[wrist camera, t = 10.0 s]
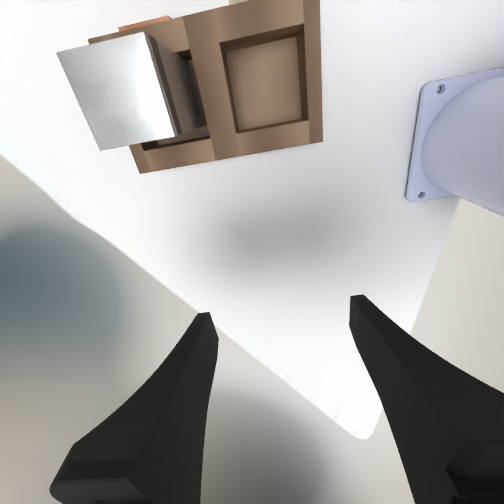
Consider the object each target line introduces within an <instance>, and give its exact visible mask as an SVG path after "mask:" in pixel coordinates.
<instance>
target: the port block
mask: <svg viewBox="0 0 504 504" xmlns="http://www.w3.org/2000/svg"><path fill="white" fill-rule="evenodd" d="M118 29H119V32H116V33H112V34H108V35H104V36H100V37H95V38H91V39H88V42H89V44H94V43H99V42H103V41H107V40H111V39H115V38H119V37H124V36H128V35H132V34H136V33H140V32H145V33H146V34H149V35H151V36H152V37H154V38H155V39H156V40H157V41H158V42H160V43H161V44H163V45H164V46H166V47H167V48H169V49H170V50H172V51H173V52H175V53H176V54H178V55H179V56H181V57H182V58H184V59H186V60H187V61H189V62H190V63H192V64H193V65H194V69H195V73H196V77H197V82H198V86H199V90H200V95H201V99H202V103H203V108H204V112H205V116H206V120H207V125H205V126H202V127H200V128H197V129H194V130H191V131H188V132H186V133H183V134H182V135H179V136H174V137H169V138H164V139H159V140H154V141H148V142H143V143H138V144H133V145H129V147H130V150H131V152H132V155H133V157H134V160H135V162H136V165H137V168H138V170H139V173H140V174H142V173H148V172H154V171H159V170H165V169H170V168H176V167H182V166H187V165H193V164H199V163H204V162H210V161H216V160H221V159H227V158H233V157H238V156H244V155H249V154H255V153H261V152H266V151H272V150H278V149H283V148H289V147H295V146H300V145H306V144H312V143H317V142H323V129H322V85H321V41H320V0H230V1H229V5H228V6H224V7H220V8H216V9H211V10H207V11H203V12H199V13H195V14H191V15H187V16H182V17H178V18H174V19H171V18H170V17H169V16H164V17H160V18H156V19H152V20H148V21H143V22H139V23H135V24H131V25H127V26H123V27H119V28H118Z"/></svg>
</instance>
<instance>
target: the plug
mask: <svg viewBox="0 0 504 504" xmlns="http://www.w3.org/2000/svg"><path fill="white" fill-rule="evenodd" d="M56 54H57V56H58V58H59V60H60V62H61V65H62V67H63V69H64V71H65V74H66V76H67V78H68V80H69V83H70V85H71V87H72V89H73V91H74V94H75V96H76V98H77V100H78V103H79V105H80V107H81V109H82V111H83V114H84V116H85V118H86V120H87V123H88V125H89V127H90V129H91V132H92V134H93V136H94V138H95V140H96V143H97V145H98V147H99V149H100V151H101V150H106V149H112V148H117V147H122V146H127V145H133V144H138V143H143V142H148V141H154V140H159V139H164V138H169V137H174V136H179V135H182V134H183V133H186V132H188V131H191V130H194V129H197V128H200V127H202V126H205V125H207V120H206V116H205V112H204V108H203V103H202V99H201V95H200V90H199V86H198V82H197V77H196V73H195V69H194V65H193V64H192V63H190V62H189V61H187V60H186V59H184V58H182V57H181V56H179V55H178V54H176V53H175V52H173V51H172V50H170V49H169V48H167V47H166V46H164V45H163V44H161V43H160V42H158V41H157V40H156V39H155V38H154V37H152V36H151V35H149V34H146V33H145V32H140V33H136V34H132V35H128V36H124V37H119V38H115V39H111V40H107V41H103V42H99V43H94V44H90V45H86V46H82V47H78V48H74V49H69V50H65V51H61V52H57V53H56Z"/></svg>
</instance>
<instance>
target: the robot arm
mask: <svg viewBox="0 0 504 504" xmlns="http://www.w3.org/2000/svg"><path fill="white" fill-rule="evenodd" d="M439 85H441V91H440V92H439V93H437V91H436V90H437V87H438V86H439ZM421 192H422V195H421V196H419V197H418V195H419V193H421ZM451 196H459V197H461V198H463V199H466V200H468V201H470V202H472V203H475V204H477V205H479V206H481V207H484V208H486V209H488V210H490V211H493V212H495V213H497V214H499V215H502V216H504V68H500V69H495V70H490V71H485V72H479V73H474V74H469V75H464V76H459V77H453V78H448V79H443V80H438V81H433V82H429V83H427V84H426V85H425V86H424V87H423V89H422V92H421V98H420V104H419V111H418V118H417V125H416V131H415V138H414V145H413V152H412V158H411V165H410V172H409V178H408V185H407V192H406V199H407V200H408V201H410V202H417V201H424V200H431V199H438V198H445V197H451ZM349 326H350V329H351V332H352V335H353V338H354V341H355V344H356V347H357V349H358V351H359V353H360V355H361V358H362V360H363V362H364V364H365V366H366V368H367V371H368V373H369V375H370V377H371V379H372V381H373V383H374V386H375V388H376V390H377V392H378V395H379V397H380V399H381V402H382V405H383V408H384V411H385V413H386V416H387V419H388V422H389V424H390V427H391V430H392V433H393V436H394V439H395V442H396V445H397V448H398V451H399V454H400V457H401V460H402V463H403V466H404V469H405V472H406V475H407V479H408V482H409V485H410V489H411V492H412V495H413V498H414V502H415V504H504V393H502V392H501V391H499V390H497V389H495V388H493V387H491V386H489V385H487V384H485V383H483V382H482V381H480V380H478V379H476V378H474V377H472V376H471V375H469V374H468V373H466V372H464V371H462V370H461V369H459V368H457V367H455V366H454V365H452V364H451V363H449V362H448V361H446V360H444V359H443V358H441V357H440V356H438V355H437V354H435V353H434V352H432V351H431V350H429V349H428V348H426V347H425V346H424V345H422V344H421V343H420V342H418V341H417V340H416V339H414V338H413V337H412V336H410V335H409V334H408V333H407V332H405V331H404V330H403V329H402V328H400V327H399V326H398V325H397V324H396V323H394V322H393V321H392V320H391V319H390V318H389V317H387V316H386V315H385V314H384V313H383V312H382V311H381V310H380V309H379V308H377V307H376V306H375V305H374V304H373V303H372V302H371V301H370V300H369V299H368V298H367V297H366V296H364V295H355V296H350V320H349ZM218 339H219V338H218V336H217V333H216V330H215V327H214V324H213V321H212V318H211V315H210V312H205V313H198V314H197V316H196V317H195V318H194V320H193V321H192V323H191V324H190V326H189V327H188V329H187V330H186V332H185V333H184V335H183V336H182V338H181V339H180V340H179V342H178V343H177V344H176V346H175V347H174V349H173V350H172V351H171V353H170V354H169V355H168V357H167V358H166V359H165V360H164V361H163V363H162V364H161V365H160V366H159V368H158V369H157V370H156V371H155V372H154V373H153V375H152V376H151V377H150V378H149V379H148V380H147V381H146V382H145V383H144V384H143V385H142V386H141V387H140V388H139V389H138V390H137V391H136V392H135V393H134V394H133V395H132V396H131V397H130V398H129V399H128V400H127V401H126V402H125V403H124V404H123V405H122V406H120V407H119V408H118V409H117V410H116V411H115V412H114V413H112V414H111V415H110V416H109V417H108V418H107V419H105V420H104V421H103V422H102V423H100V424H99V425H98V426H97V427H96V428H94V429H93V430H92V431H90V432H89V433H88V434H86V435H85V436H84V437H83V438H82V439H80V440H79V441H77V442H76V443H75V444H73V446H72V448H71V449H70V451H69V453H68V455H67V456H66V458H65V460H64V462H63V464H62V466H61V467H60V469H59V471H58V473H57V475H56V477H55V478H54V480H53V482H52V484H51V486H50V489H49V490H50V493H51V495H52V496H53V497H54V498H55V499H56V500H58V501H59V502H61V503H63V504H200V495H201V477H202V462H203V449H204V438H205V427H206V418H207V409H208V403H209V397H210V392H211V387H212V382H213V377H214V372H215V367H216V361H217V354H218Z"/></svg>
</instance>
